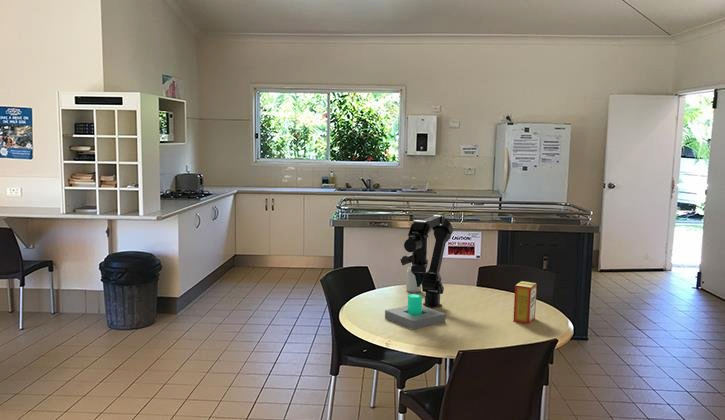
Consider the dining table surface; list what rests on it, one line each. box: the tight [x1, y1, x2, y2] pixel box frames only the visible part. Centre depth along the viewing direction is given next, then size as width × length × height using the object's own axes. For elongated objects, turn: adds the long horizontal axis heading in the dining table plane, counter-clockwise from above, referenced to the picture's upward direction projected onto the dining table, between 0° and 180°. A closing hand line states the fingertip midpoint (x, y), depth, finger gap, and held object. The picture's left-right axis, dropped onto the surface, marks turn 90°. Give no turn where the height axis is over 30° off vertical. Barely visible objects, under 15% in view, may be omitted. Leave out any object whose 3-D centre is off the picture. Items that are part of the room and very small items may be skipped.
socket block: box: [384, 305, 447, 330], centre depth 247 cm, size 18×18×4 cm
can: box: [405, 266, 422, 293], centre depth 296 cm, size 8×8×12 cm
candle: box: [407, 293, 423, 316], centre depth 247 cm, size 6×6×12 cm
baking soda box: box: [513, 280, 538, 325], centre depth 250 cm, size 10×6×16 cm
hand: (419, 284), depth 256 cm, fingers open, 9 cm apart
